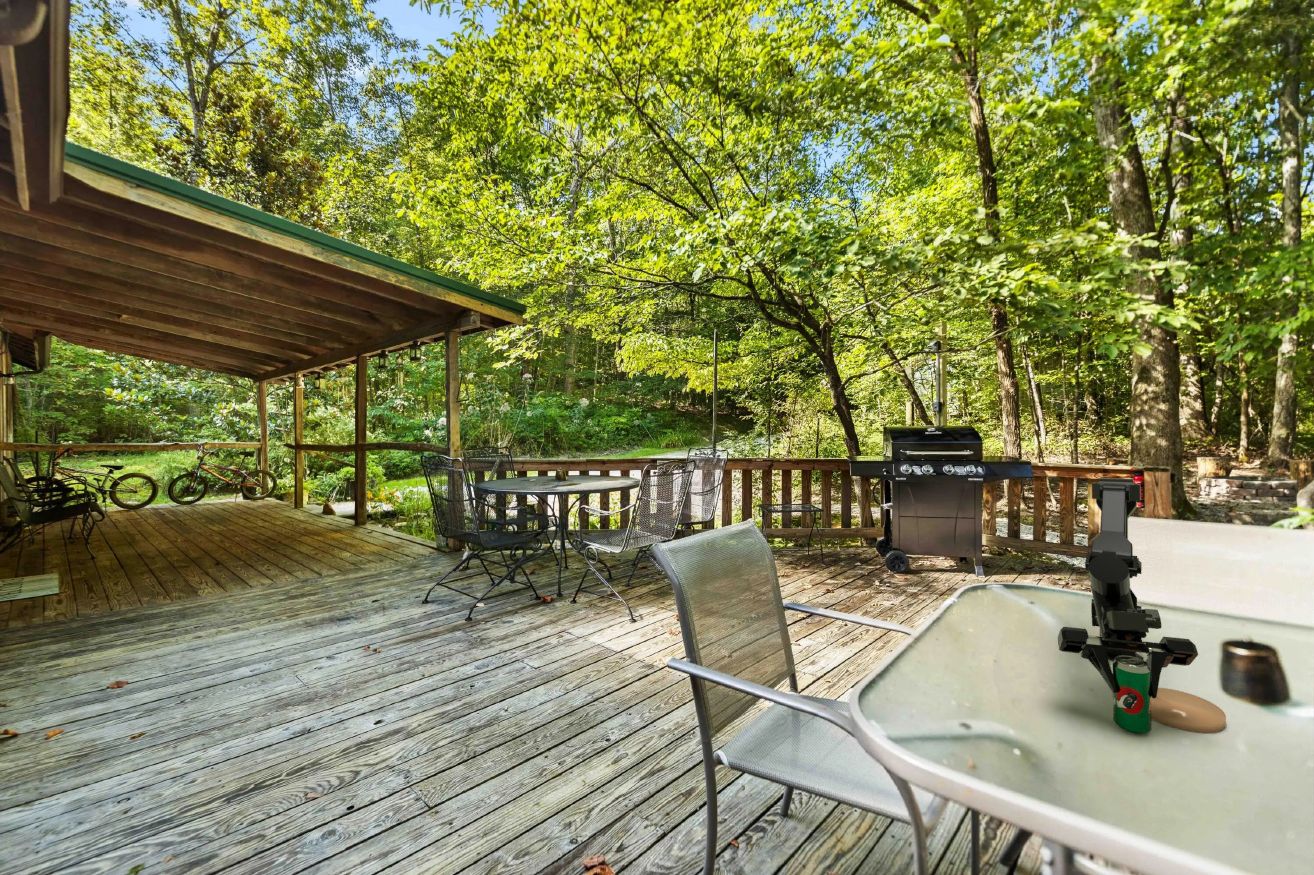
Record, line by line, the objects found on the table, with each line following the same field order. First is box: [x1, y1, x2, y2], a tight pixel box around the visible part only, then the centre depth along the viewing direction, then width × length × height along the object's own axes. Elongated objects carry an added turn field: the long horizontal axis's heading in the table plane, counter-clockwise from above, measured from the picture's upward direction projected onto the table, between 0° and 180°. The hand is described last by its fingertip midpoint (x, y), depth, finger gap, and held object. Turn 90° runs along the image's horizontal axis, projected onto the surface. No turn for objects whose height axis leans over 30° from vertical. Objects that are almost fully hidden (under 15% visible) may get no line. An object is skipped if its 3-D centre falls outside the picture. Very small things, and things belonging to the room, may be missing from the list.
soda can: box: [1112, 655, 1153, 735], centre depth 95 cm, size 5×5×12 cm
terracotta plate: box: [1151, 687, 1227, 734], centre depth 99 cm, size 12×12×2 cm
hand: (1134, 694), depth 94 cm, fingers closed on soda can, 5 cm apart
